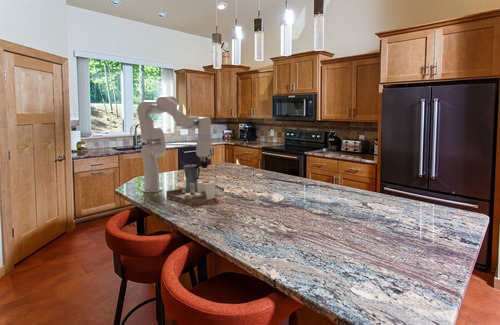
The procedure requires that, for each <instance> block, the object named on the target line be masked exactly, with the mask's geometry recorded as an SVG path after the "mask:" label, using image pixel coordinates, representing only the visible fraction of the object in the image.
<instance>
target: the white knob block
mask: <svg viewBox="0 0 500 325" xmlns="http://www.w3.org/2000/svg"><path fill="white" fill-rule="evenodd" d="M215 188H216V187H215V181H211V180H209V183H203V180H202V181H201V180H200V181H197V193H200V194H201V195H202V194H206V195H207V201H208V200H212V199H215V198H216V192H215Z"/></svg>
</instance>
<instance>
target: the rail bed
mask: <svg viewBox="0 0 500 325" xmlns="http://www.w3.org/2000/svg"><path fill="white" fill-rule="evenodd" d="M165 193H166V194H165V196H166V199H167V200H171V201H175V202H177V203H181V204H184V205H188V206H191V207H193V206H196V205H200V204H204V203H207V202H208V200H207V195H206V194H202V195H199V196H195V197H191V198H190V199H186V198H184V194H187V193H188V192H186V191H183V188H182V187H180V188H175V189H170V190H166V192H165Z"/></svg>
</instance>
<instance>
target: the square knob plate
mask: <svg viewBox="0 0 500 325" xmlns="http://www.w3.org/2000/svg"><path fill="white" fill-rule="evenodd" d="M186 193H187V194H184V198H186V199H190V198H191V197H195V196H199V195H201V194H200V193H198V192H195V184H190V192H186Z"/></svg>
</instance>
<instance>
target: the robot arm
mask: <svg viewBox="0 0 500 325" xmlns="http://www.w3.org/2000/svg"><path fill="white" fill-rule="evenodd" d="M136 108H137V109H136V114H137V117H138V122H139V128H140V135H141V139H142V141H143V142H146V143H148V144H145V145H143V146H142V147H141V150H140V153H141V157H142V161H143V162H142V164H143V176H144V179H143V180H144V184H143V186H144V188H142V192H143V193H151V194H152V193H158V192H161V191H162V190H163V187H161V186H160V170H159V168H160V167H159V162H158V160H157V158H161V157H163V156H165V154H166V151H167V146H166V140H165V139H166V138H165V132H164V131H163V129H162V128H161V127H158V126H154V121H153V118H152V117H151V114H155V115H156V114H164V113H166V114H169V115H170V116H172V119H173V120H174V123H176V124H177V125H178V126H180V127H181V128H184V129H185V130H194V129H197V132H198V133H197V138H198V139H197V140H196V147H195V148H196V149H195V150H196V151H195V154H196V155H195V156H197V157H198V158H199V159H200V162H201V168H202V169H207V168H208V162H209V160H212V156H213V145H212V143H213V142H212V133H211V132H212V126H211V125H212V123H211V122H212V121H211V120H212V119H211V118H210V117H208V116H199V115H196V116H193V115H191V116H190V115H189V116H188V115H187V114H185V113H183V106H182V105H181V104H180V103H178V100H177V97H175V96H173V95H160V96H158V97H157V98H156V100H151V99H149V100H148V99H147V100H142V101H141V102H139V103H138V105H137V107H136ZM149 142H151V143H149ZM152 142H153V143H152Z"/></svg>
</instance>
